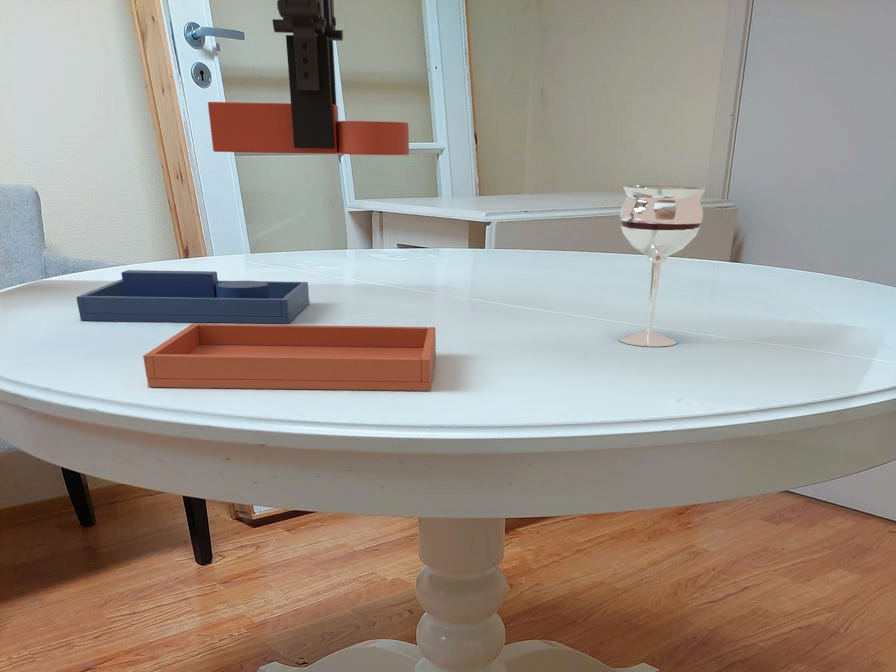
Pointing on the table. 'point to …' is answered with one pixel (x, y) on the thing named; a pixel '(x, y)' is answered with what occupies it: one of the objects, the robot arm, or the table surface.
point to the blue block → (189, 285)
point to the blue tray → (194, 306)
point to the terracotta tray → (295, 357)
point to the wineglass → (659, 236)
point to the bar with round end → (274, 131)
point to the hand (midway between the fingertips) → (316, 147)
